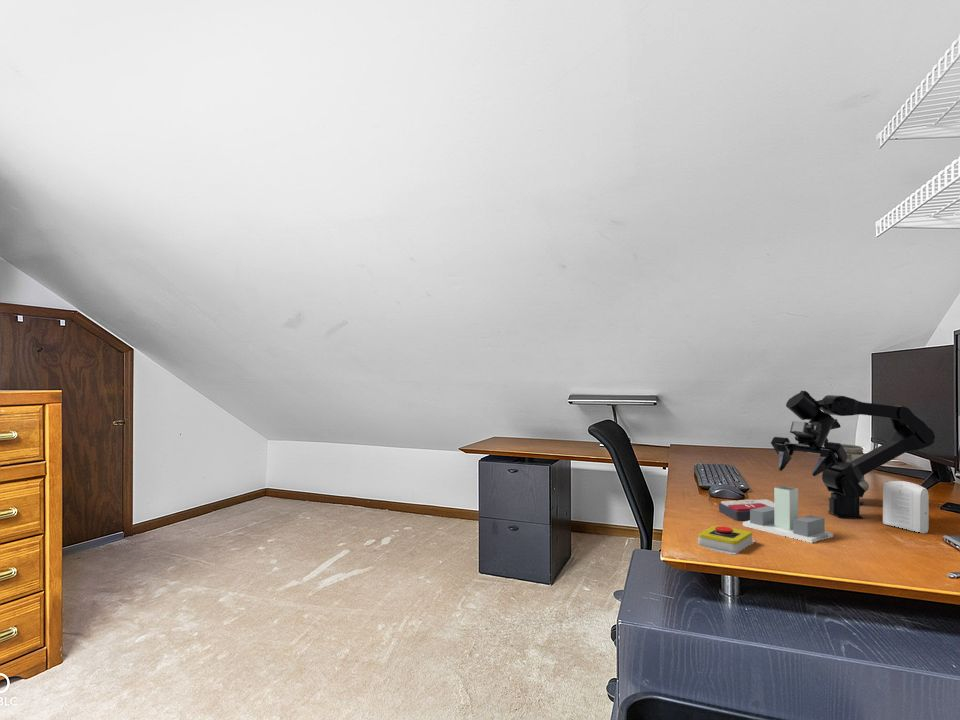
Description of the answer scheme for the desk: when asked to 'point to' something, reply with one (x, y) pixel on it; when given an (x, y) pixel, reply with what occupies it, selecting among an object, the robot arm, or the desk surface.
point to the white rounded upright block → (906, 506)
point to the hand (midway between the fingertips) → (796, 472)
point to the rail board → (802, 529)
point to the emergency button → (725, 539)
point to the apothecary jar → (852, 454)
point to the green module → (785, 506)
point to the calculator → (742, 508)
